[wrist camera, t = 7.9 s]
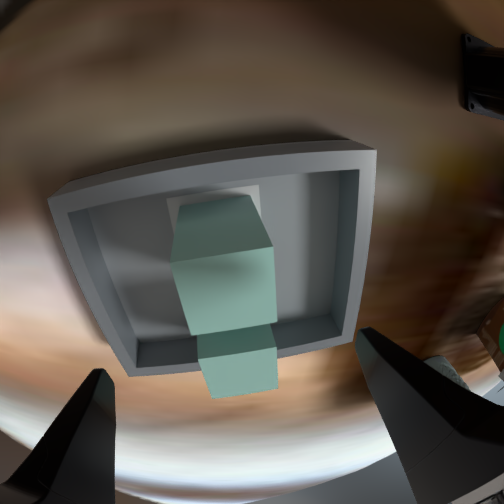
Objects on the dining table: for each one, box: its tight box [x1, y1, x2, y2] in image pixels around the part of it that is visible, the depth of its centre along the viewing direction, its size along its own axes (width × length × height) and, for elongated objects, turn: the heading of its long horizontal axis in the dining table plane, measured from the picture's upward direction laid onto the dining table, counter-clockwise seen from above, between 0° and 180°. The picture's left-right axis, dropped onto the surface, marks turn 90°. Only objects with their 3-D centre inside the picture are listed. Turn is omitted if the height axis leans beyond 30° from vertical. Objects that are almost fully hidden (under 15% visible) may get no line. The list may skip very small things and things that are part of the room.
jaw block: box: [170, 195, 277, 336], centre depth 15 cm, size 4×4×6 cm
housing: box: [47, 140, 377, 399], centre depth 16 cm, size 17×14×6 cm
